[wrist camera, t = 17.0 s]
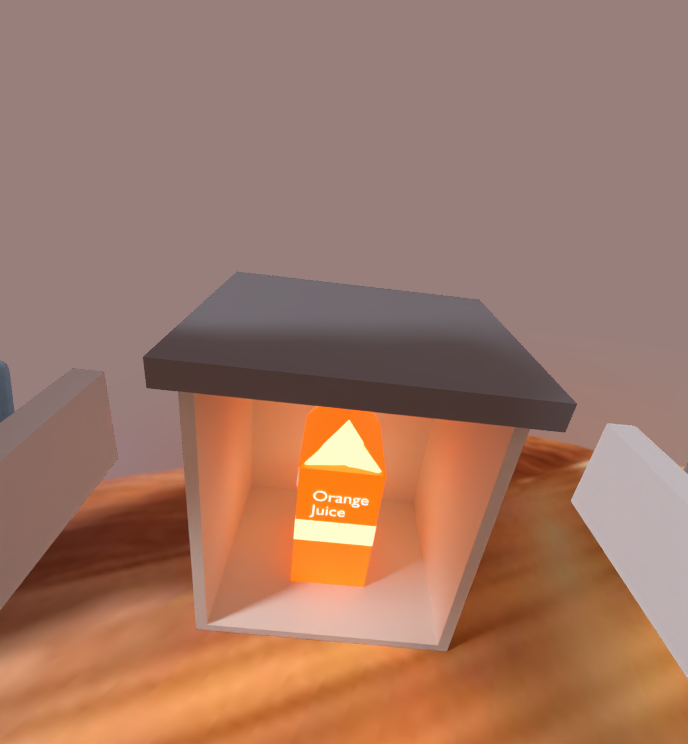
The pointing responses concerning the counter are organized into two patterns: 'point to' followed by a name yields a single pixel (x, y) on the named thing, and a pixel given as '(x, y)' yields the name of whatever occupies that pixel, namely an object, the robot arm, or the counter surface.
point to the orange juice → (337, 496)
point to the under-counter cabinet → (399, 439)
